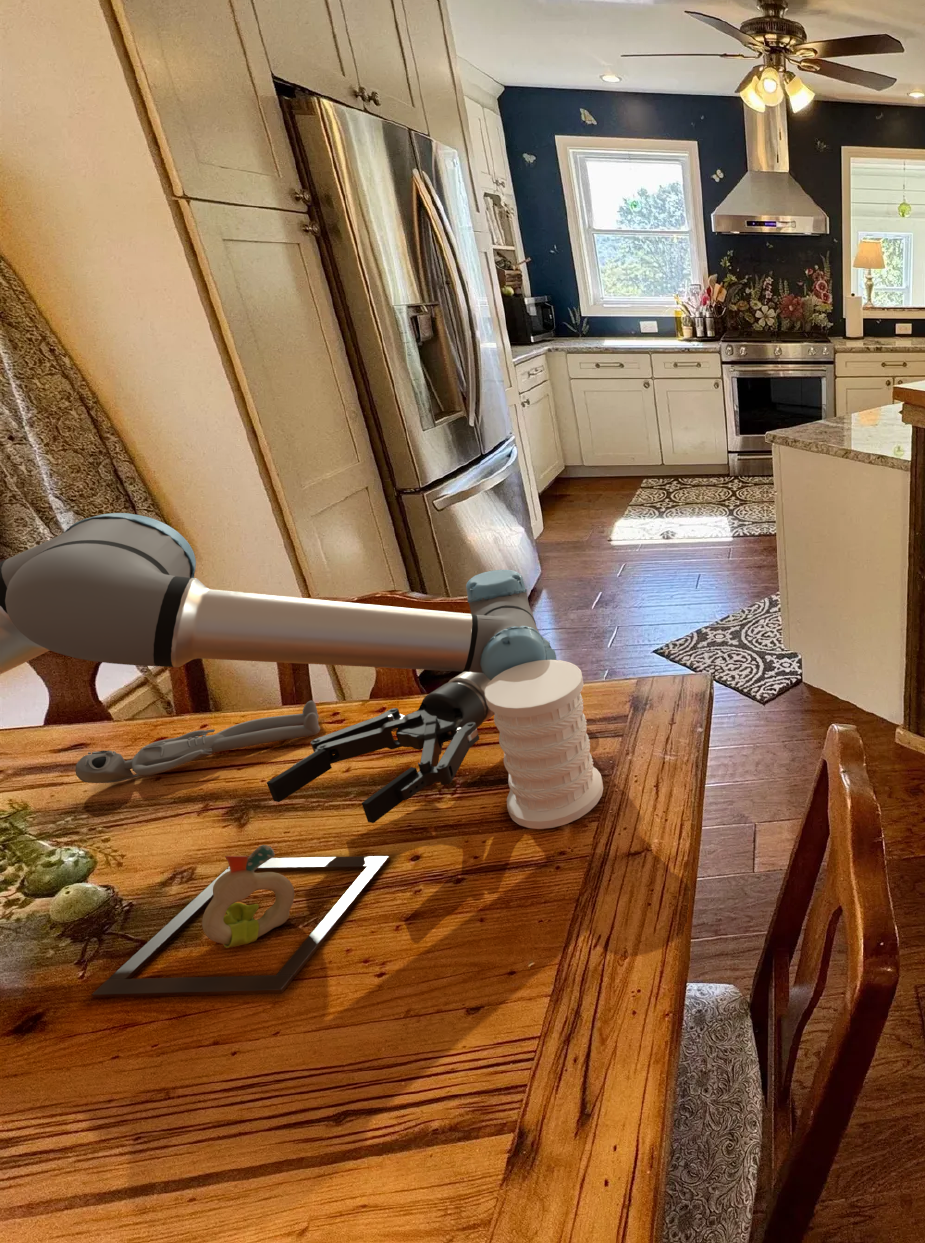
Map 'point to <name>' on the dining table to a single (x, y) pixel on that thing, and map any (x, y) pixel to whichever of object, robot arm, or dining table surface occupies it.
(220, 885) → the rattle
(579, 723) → the decorative container
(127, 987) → the spot frame
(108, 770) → the alien figure
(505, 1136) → the dining table surface
